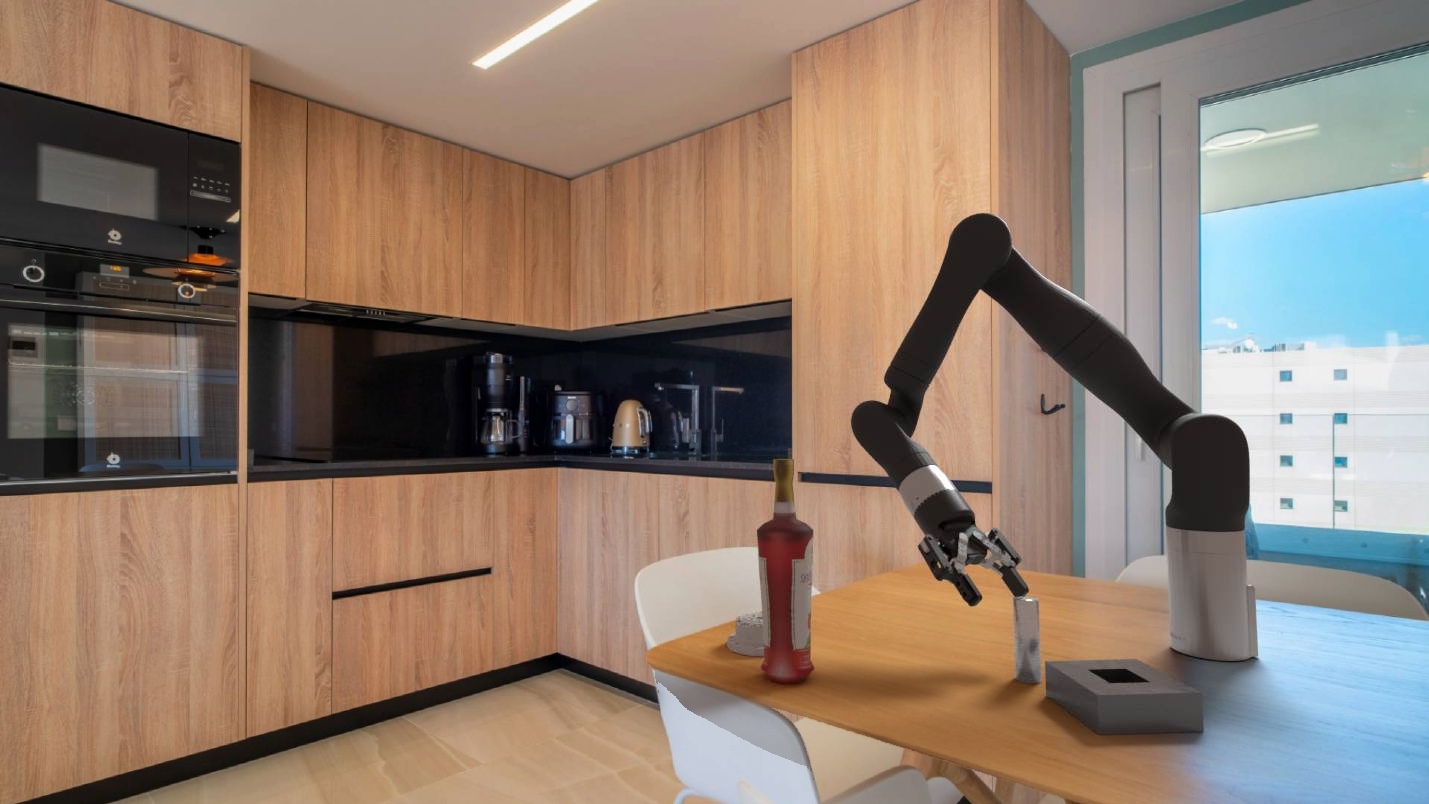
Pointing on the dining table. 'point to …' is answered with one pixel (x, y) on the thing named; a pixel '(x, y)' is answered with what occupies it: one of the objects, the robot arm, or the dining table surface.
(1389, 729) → the dining table surface
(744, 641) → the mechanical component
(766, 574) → the liquor
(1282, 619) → the dining table surface
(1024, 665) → the steel pin
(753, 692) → the dining table surface
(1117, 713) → the square hole block
